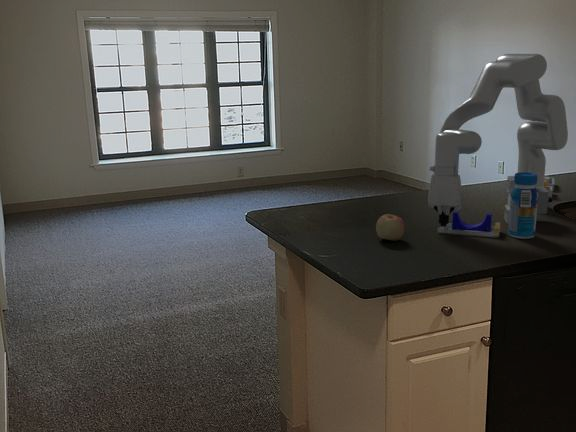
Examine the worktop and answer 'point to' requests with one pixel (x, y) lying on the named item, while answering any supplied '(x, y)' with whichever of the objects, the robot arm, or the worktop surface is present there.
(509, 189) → the circuit breaker
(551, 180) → the cup tray
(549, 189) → the clamp tray
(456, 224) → the blue plastic bracket
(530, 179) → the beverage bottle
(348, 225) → the worktop surface
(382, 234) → the apple
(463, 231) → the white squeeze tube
